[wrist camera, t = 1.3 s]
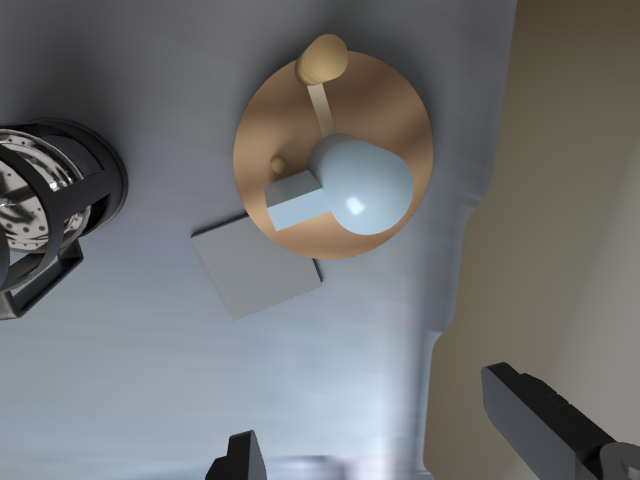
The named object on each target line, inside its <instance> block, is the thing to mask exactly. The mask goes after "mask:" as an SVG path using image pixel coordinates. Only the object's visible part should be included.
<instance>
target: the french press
mask: <svg viewBox="0 0 640 480" xmlns="http://www.w3.org/2000/svg"><path fill="white" fill-rule="evenodd" d="M47 135H56V136H63V137H67V138H70V139H73V140H75V141H77V142H78V143H80V144H81V145H82V146H83V147H85V148H86V149H87V150H88V151H89V152H90V153H91V154H92V156H93V157H94V158H95V159H96V160H97V162H98V163H99V165H100V167H101V168H102V170H103V171H100V172H98V173H96V174H93V175H91V176H89V177H86V178H85V177H84V175H83V174H82V172H81V171H80V170H79V168H78V167H77V166H76V165H75V164H74V163H73V161H72V160H71V159H70V158H69V157H68V156H66V155H65V154H64V153H62V152H61V151H60V150H59V149H57V148H56V147H54V146H52V145H51V144H49V143H47V142H45V141H43V140H42V139H40V138H38V137H41V136H47ZM127 189H128V181H127V174H126V171H125V168H124V165H123V163H122V161H121V159H120V157H119V156H118V154H117V152H116V151H115V150H114V149H113V148H112V146H111V145H110V144H109V143H108V142H107V141H106V140H105V139H103V138H102V137H101V136H100V135H99V134H97V133H96V132H94V131H92V130H91V129H89V128H88V127H86V126H83V125H81V124H78V123H76V122H73V121H69V120H65V119H60V118H41V119H34V120H30V121H27V122H22V123H7V124H0V320H8V319H16V318H20V317H22V316H23V315H24V314H25V313H26V312H27V311H29V310H30V309H31V308H32V307H33V306H34V305H35V304H36V303H37V302H38V301H39V300H41V299H42V298H43V297H44V296H45V295H46V294H47V293H48V292H49V291H50V290H51V289H53V288H54V287H55V286H56V285H57V284H58V283H59V282H60V281H61V280H62V279H63V278H65V277H66V276H67V275H68V274H69V273H70V272H71V271H72V270H73V269H74V268H75V267H77V266H78V265H79V264H80V263H81V262H82V261H83V259H84V257H83V253H82V250H81V247H80V244H79V241H78V238H79V237H82V236H84V235H87V234H88V233H90V232H91V231H93V230H94V229H96V228H98V227H100V226H103V225H104V224H106V223H107V222H109V221H110V220H112V219H113V218H114V217H115V216H116V215H117V214H118V213H119V211H120V210H121V208H122V206H123V205H124V203H125V199H126V196H127ZM106 195H108V196H107V199H106V201H105V202H104V204H103V205H102V206H101V207H100V208H99V209H98V210H97V211H96V212H94V213H92V214H90V211H91V204H93V203H95V202H96V201H98V200H100V199H101V198H103V197H104V196H106ZM10 251H13V252H21V253H29V254H28V255H26V256H25V257H23V258H22V259H20V260H19V261H17V262H16V263H14V264H13V265H11V266H10V267H9V265H10ZM56 254H57V256H58V261H57V262H56V263H54V264H53V265H52V266H51V267H49V268H48V269H47V270H46V271H44V272H43V273H42V274H41V275H39V276H38V277H37V278H36V279H34V280H33V281H32V282H31V283H29V284H28V285H27V286H26V287H24V288H23V289H22V290H21V291H19V292H18V293H17V294H16V295H14V296H12V294H11V292H10V290H13V289H15V288H18V287H20V286H21V285H23V284H25V283H26V282H28V281H29V280H31V279H32V278H33V277H35V276H36V275H37V274H39V273H40V272H41V271H42V270H44V269H45V268H46V267H47V266H48V265H49V264H50V263H51V262H52V261H53V260H54V258H55V256H56ZM36 268H37V269H36ZM35 269H36V270H35ZM34 270H35V271H34ZM32 271H34V272H33V273H31V272H32ZM30 273H31V274H30ZM28 274H30V275H28Z"/></svg>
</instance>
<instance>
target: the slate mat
mask: <svg viewBox="0 0 640 480" xmlns="http://www.w3.org/2000/svg"><path fill="white" fill-rule="evenodd" d="M190 239H191V241H192V243H193V245H194V247H195V249H196V250H197V252H198V254H199V256H200V258H201V260H202V262H203V264H204V265H205V267H206V269H207V271H208V273H209V275H210V277H211V279H212V281H213V282H214V284H215V286H216V288H217V290H218V292H219V294H220V296H221V297H222V299H223V301H224V303H225V305H226V307H227V309H228V311H229V313H230V314H231V316H232V318H233V320H237V319H239V318H242V317H245V316H247V315H250V314H252V313H255V312H257V311H260V310H263V309H265V308H268V307H270V306H273V305H275V304H278V303H281V302H283V301H286V300H288V299H291V298H293V297H296V296H298V295H301V294H304V293H306V292H309V291H311V290H314V289H316V288H319V287H322V284H321V281H320V278H319V276H318V273H317V270H316V268H315V265H314V262H313V260H312V258H310V257H305V256H302V255H299V254H295V253H293V252H291V251H289V250H287V249H285V248H283V247H281V246H280V245H278V244H276V243H275V242H273V241H272V240H271V239H270V238H269V237H267V236H266V235H265V234H264V233H263V232H262V231H261V230H260V229H259V228H258V227H257V225H256V224H255V223H254V221H253V220H252V219H251V217H250V216H249V215H247V216H244V217H241V218H239V219H236V220H233V221H231V222H228V223H225V224H223V225H220V226H217V227H215V228H212V229H209V230H207V231H204V232H201V233H199V234H196V235H193V236H191V238H190Z"/></svg>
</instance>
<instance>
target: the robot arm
mask: <svg viewBox="0 0 640 480" xmlns="http://www.w3.org/2000/svg"><path fill="white" fill-rule="evenodd" d="M481 375H482V387H483V401H484V407H485V410H486V413H487V415H488V417H489V419H490V420H491V422H492V423H493V424H494V426H495V427H496V428H497V429H498V430H499V432H500V433H501V434H502V435H503V436H504V437H505V439H506V440H507V441H508V442H509V443H510V445H511V446H512V447H513V448H514V449H515V451H516V452H517V453H518V454H519V455H520V456H521V458H522V459H523V460H524V461H525V462H526V464H527V465H528V466H529V467H530V468H531V470H532V471H533V472H534V473H535V474H536V476H537V477H538V478H539V479H540V480H640V447H639V446H636V445H633V444H629V443H623V442H617V441H616V440H614V439H613V438H612V437H611V436H609V435H608V434H607V433H606V432H605V431H603V430H602V429H601V428H599V427H598V426H597V425H596V424H594V422H592V421H591V420H590V419H588V418H587V417H586V416H585V415H584V414H582V413H581V412H580V411H579V410H578V409H576V408H575V407H574V406H572V405H571V404H569V403H568V401H567V400H565V399H564V398H563V397H562V396H560V395H558V394H557V392H556V391H554V390H553V389H552V388H551V387H549V386H548V385H547V384H546V383H544V382H543V381H542V380H539V379H537V378H535V377H533V376H531V375H529V374H526V373H523V374H519V373H518V372H517V371H515V370H514V369H513V368H512V367H511V366H510V365H509V364H507V363H505V362H501V363H497V364H494V365H490V366H486V367H483V368H482V370H481ZM205 480H267V475H266V469H265V465H264V462H263V458H262V455H261V452H260V448H259V445H258V442H257V438H256V435H255V432H254V430H250V431H247V432H243V433H239V434H236V435H232V436H230V438H229V443H228V450H227V456H224V457H220V458H217V459H215V460H214V462H213V464H212V466H211V467H210V469H209V471H208V473H207V474H206V477H205Z"/></svg>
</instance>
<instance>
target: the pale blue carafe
mask: <svg viewBox="0 0 640 480" xmlns="http://www.w3.org/2000/svg"><path fill="white" fill-rule="evenodd" d="M413 190H414V184H413V178H412V174H411V172H410V169H409V168H408V166H407V164H406V163H405V162H404V161H403V160H402V159H401V158H400V157H399V156H397V155H396V154H394V153H392V152H389V151H387V150H385V149H382V148H380V147H378V146H375V145H373V144H371V143H368V142H366V141H364V140H361V139H359V138H357V137H354V136H352V135H349V134H345V133H336V134H332V135H329V136H326V137H325V138H323V139H321V140H320V141H319V142H318V143H317V144H316V145H315V146H314V148H313V149H312V151H311V153H310V156H309V159H308V165H307V170H306V171H304V172H301V173H298V174H295V175H293V176H290V177H287V178H284V179H282V180H279V181H276V182H273V183H271V184H268V185H265V186H264V193H265V200H266V207H267V210H268V213H269V215H270V218H271V220H272V222H273V225H274V227H275V230H276V231H279V230H281V229H284V228H287V227H290V226H292V225H295V224H298V223H300V222H303V221H306V220H308V219H311V218H314V217H317V216H319V215H322V214H325V213H327V212H330V211H331V213H332V214H333V216H334V217H335V218H336V220H337V221H338V222H339V223H340V224H341V225H342V226H343V227H344V228H345V229H347V230H349V231H351V232H353V233H356V234H361V235H372V234H377V233H380V232H383V231H385V230H387V229H389V228H391V227H392V226H394V225H395V224H396V223H397V222H398V221H399V220H400V219H401V218H402V217H403V216H404V215H405V213H406V212H407V210H408V208H409V206H410V203H411V201H412V197H413Z"/></svg>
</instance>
